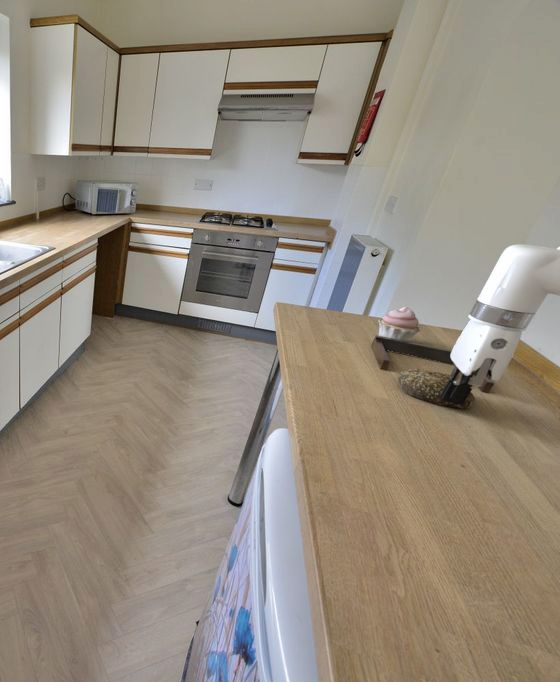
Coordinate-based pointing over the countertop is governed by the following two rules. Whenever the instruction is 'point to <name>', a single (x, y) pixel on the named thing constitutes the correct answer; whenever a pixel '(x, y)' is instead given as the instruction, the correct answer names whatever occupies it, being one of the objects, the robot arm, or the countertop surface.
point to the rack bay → (415, 354)
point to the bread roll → (429, 387)
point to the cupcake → (399, 324)
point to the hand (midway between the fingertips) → (450, 400)
